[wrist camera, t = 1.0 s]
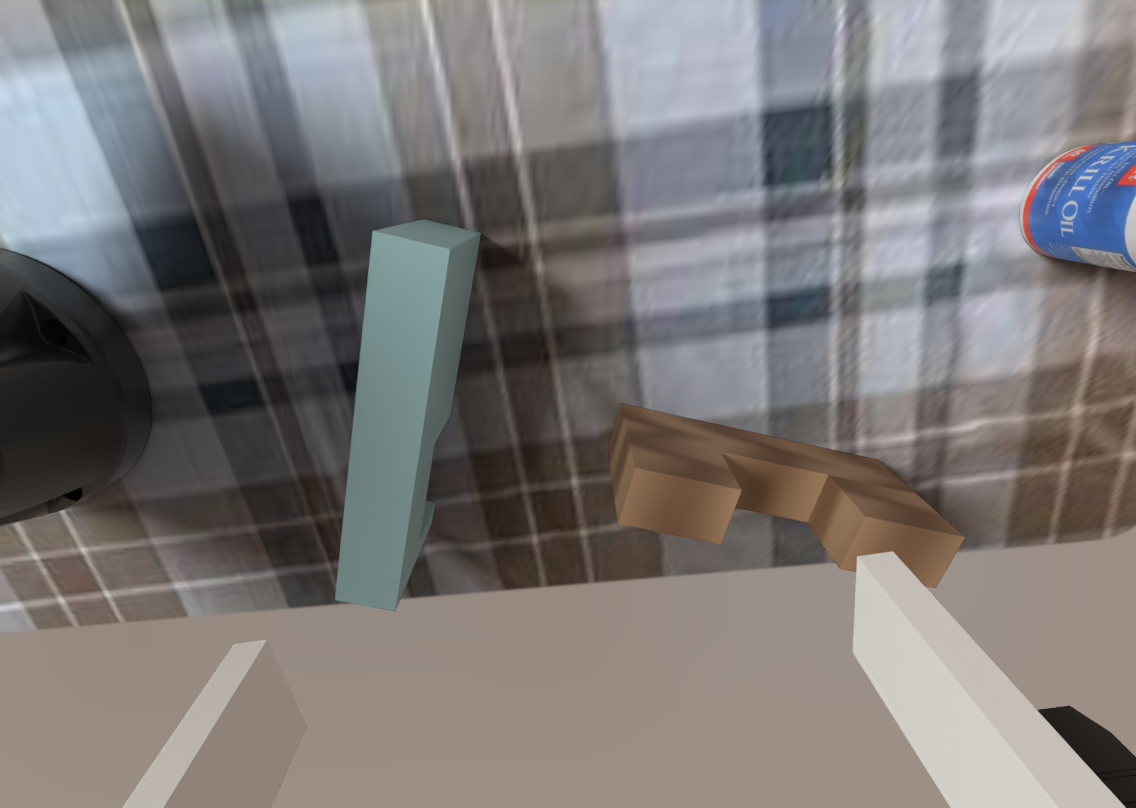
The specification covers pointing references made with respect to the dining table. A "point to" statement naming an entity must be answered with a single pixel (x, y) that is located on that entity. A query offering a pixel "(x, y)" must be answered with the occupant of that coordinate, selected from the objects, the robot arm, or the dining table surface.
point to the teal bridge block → (402, 402)
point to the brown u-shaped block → (769, 490)
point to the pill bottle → (1085, 206)
